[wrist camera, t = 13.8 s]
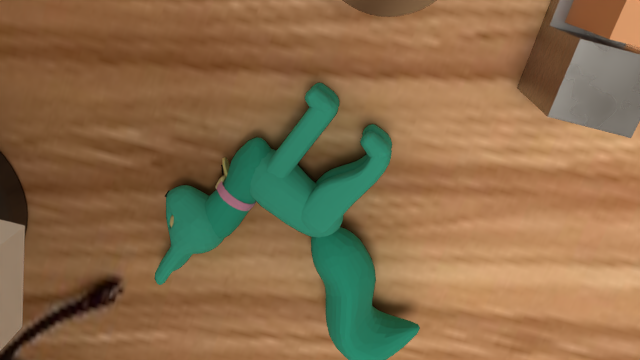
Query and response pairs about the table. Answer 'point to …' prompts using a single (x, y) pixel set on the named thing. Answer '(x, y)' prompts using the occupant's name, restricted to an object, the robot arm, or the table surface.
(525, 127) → the table surface
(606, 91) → the metal block
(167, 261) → the toy
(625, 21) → the orange brown block
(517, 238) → the table surface
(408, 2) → the bobbin
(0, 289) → the robot arm
